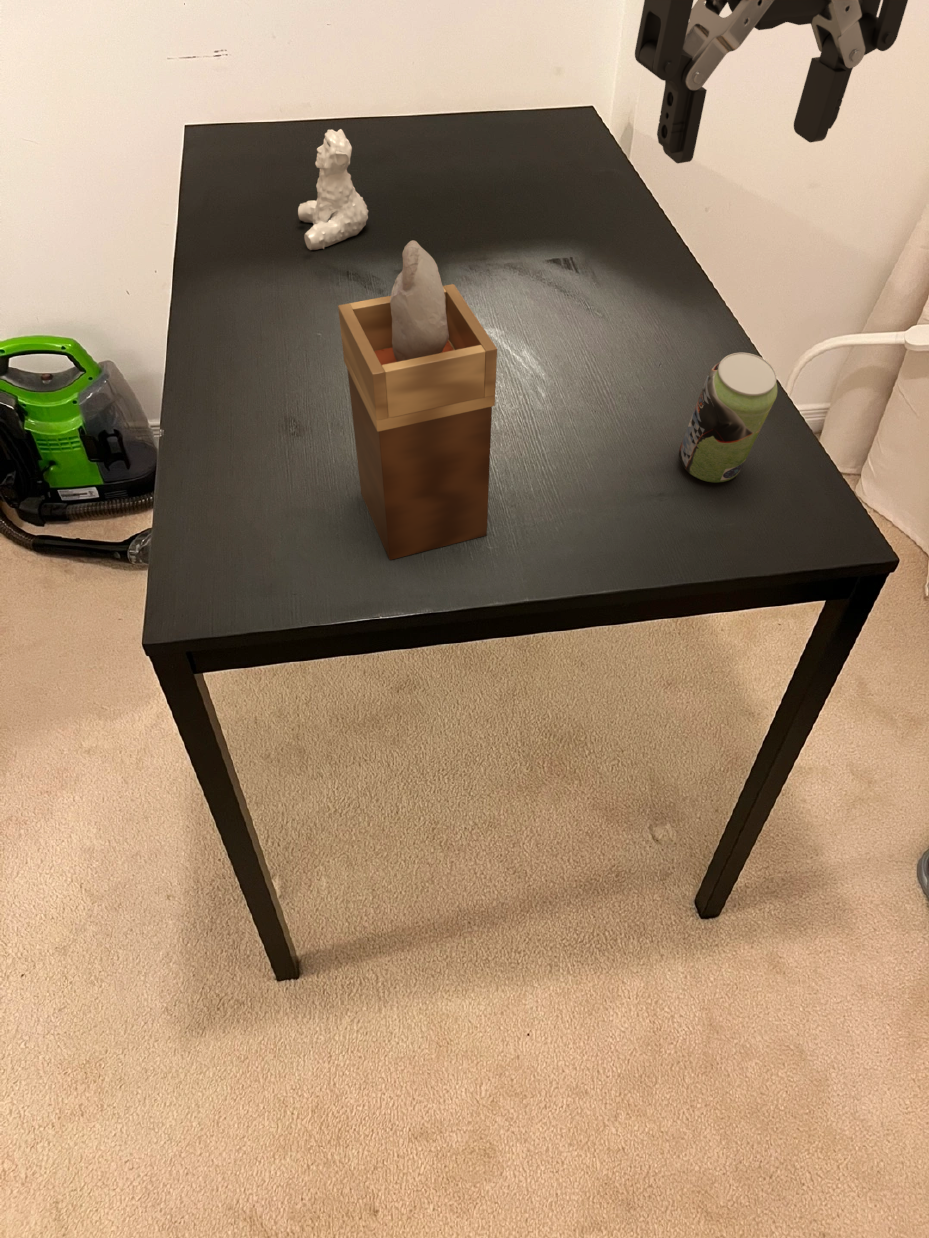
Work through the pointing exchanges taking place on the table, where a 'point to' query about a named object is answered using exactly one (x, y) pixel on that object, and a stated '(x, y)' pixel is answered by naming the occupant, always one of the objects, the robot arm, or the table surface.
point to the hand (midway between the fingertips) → (743, 147)
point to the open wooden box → (417, 365)
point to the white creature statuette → (333, 196)
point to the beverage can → (728, 417)
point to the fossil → (418, 307)
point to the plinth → (424, 478)
